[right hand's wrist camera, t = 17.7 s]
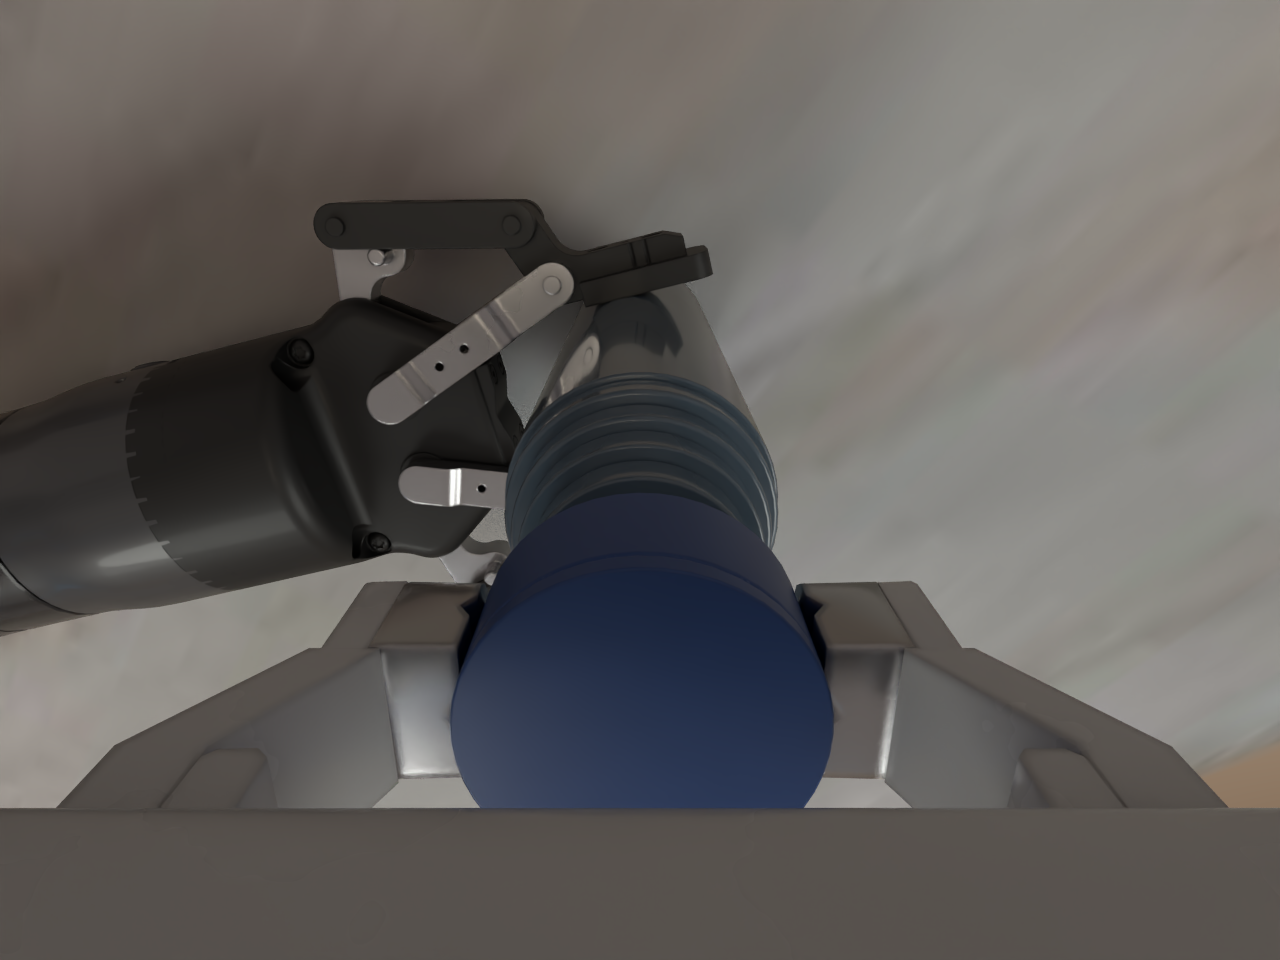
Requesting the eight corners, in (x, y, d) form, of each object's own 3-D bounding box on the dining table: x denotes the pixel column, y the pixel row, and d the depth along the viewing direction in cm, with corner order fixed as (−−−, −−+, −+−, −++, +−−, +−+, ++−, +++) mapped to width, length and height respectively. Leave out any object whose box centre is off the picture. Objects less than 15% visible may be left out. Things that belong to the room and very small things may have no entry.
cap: (418, 614, 10) (367, 715, 8) (668, 424, 9) (675, 488, 7) (619, 805, 11) (615, 932, 9) (859, 655, 10) (908, 762, 8)
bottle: (717, 280, 29) (923, 549, 8) (690, 405, 31) (798, 895, 10) (587, 254, 28) (441, 465, 8) (567, 382, 30) (403, 840, 9)
